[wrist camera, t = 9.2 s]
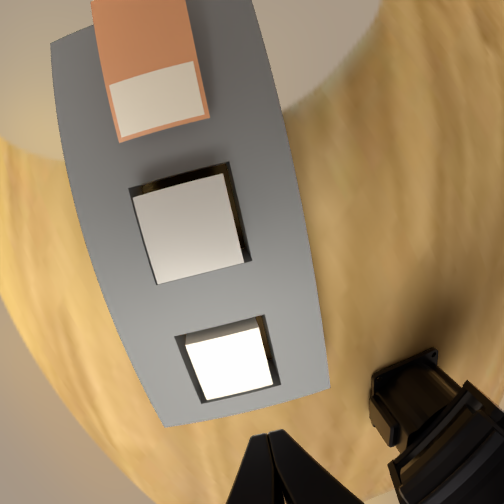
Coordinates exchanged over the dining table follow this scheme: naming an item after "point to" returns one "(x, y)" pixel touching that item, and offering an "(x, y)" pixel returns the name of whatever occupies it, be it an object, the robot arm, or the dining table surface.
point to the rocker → (148, 65)
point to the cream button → (229, 358)
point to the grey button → (189, 228)
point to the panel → (247, 204)
